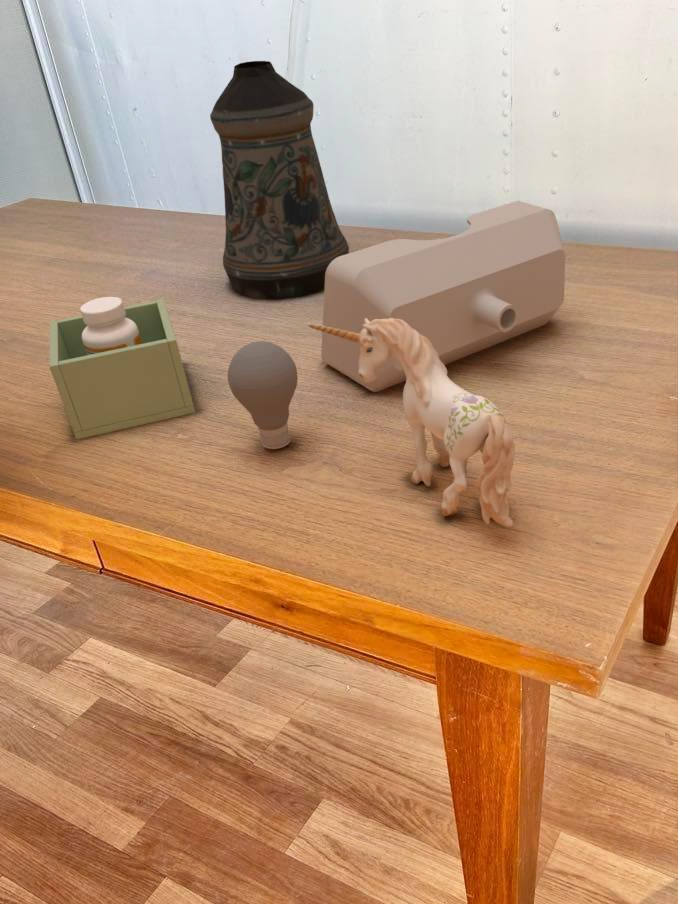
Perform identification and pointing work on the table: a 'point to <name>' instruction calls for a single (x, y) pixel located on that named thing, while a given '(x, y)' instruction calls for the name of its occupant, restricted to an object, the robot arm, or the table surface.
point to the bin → (120, 374)
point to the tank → (449, 288)
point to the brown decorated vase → (273, 188)
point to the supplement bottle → (107, 326)
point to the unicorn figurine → (441, 415)
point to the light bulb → (265, 388)
